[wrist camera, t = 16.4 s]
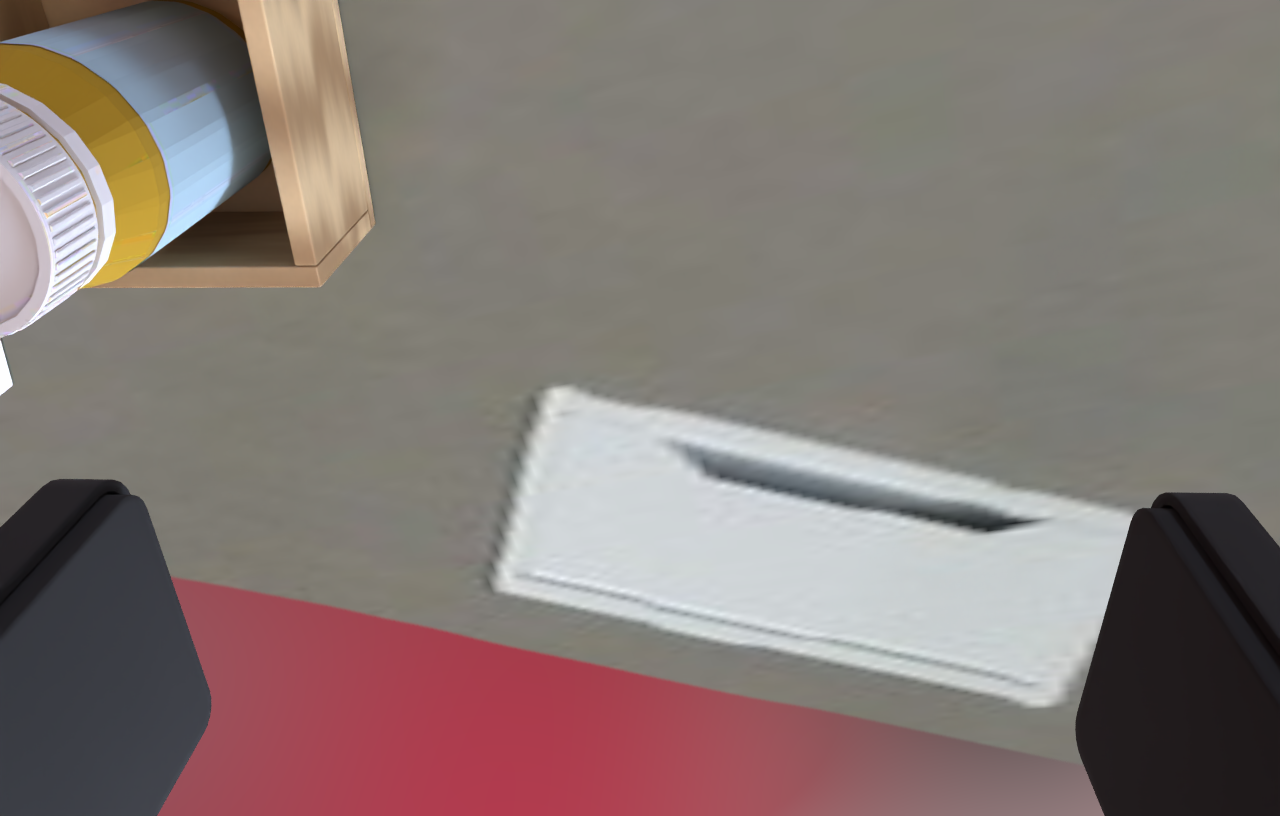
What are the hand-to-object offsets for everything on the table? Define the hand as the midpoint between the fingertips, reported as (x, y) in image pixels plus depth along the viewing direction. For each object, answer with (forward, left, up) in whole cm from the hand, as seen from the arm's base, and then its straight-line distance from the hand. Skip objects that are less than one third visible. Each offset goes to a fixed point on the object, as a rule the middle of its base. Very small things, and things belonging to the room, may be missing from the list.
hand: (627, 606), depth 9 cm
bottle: (+4, -18, -30) cm, 35 cm away
